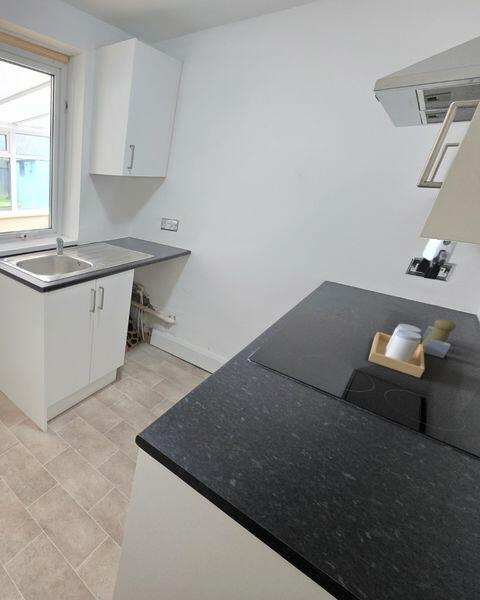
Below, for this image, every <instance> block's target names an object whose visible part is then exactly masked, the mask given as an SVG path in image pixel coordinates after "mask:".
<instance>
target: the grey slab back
mask: <svg viewBox="0 0 480 600" xmlns="http://www.w3.org/2000/svg"><path fill="white" fill-rule="evenodd" d="M433 328H434V326H431V325H428V326H427V327H426V330H425V331H424V333H423V335H422V340H424V339H425V338H426V337H427V336H428V334H429V333H430V332H431V331H432V329H433Z"/></svg>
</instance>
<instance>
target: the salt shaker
mask: <svg viewBox="0 0 480 600" xmlns="http://www.w3.org/2000/svg"><path fill="white" fill-rule="evenodd" d="M422 339H423V336H422V335H421V334H420V335H419V334H417V333H414V332H411V331H408V330H398V331H397V333H395V335H394V337H393V339H392V341H391V343H390V345H389V347H388V349H387V351H386V353H385V355H384V356H387V357H390V358H393V359H397V360H400V361H403V362H406V363H409V361H410V359H411V358H412V356H413V354H414V352H415V350H416V349H417V347H418V345H419V344H421V340H422Z"/></svg>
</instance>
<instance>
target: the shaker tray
mask: <svg viewBox="0 0 480 600" xmlns="http://www.w3.org/2000/svg"><path fill="white" fill-rule="evenodd" d="M391 337H392V335H390V334H387V333H383V332H379V331H376V334H375V336H374V338H373V341H372V345H371V347H370V352H369V356H368V360H367V361H368V362H371V363H373V364H377V365H379V366H383V367H386V368H389V369H391V370H395V371H398V372H400V373H404V374H407V375H410V376H413V377H416V378H421V377H422V375H423V373H424V372H425V370H426V369H425V353H424V351H423V349H424V346H423V345H422V344H421V343H419V345H418V347H417V349H416V350H415V352H414V354H413V356H412V358H411V359H410V361H409V363H406V362H403V361H400V360H397V359H393V358H390V357H387V356H384V355H385V353H384V350H385V348H386V346H387V344H388V343H389V341H390V339H391Z"/></svg>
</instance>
